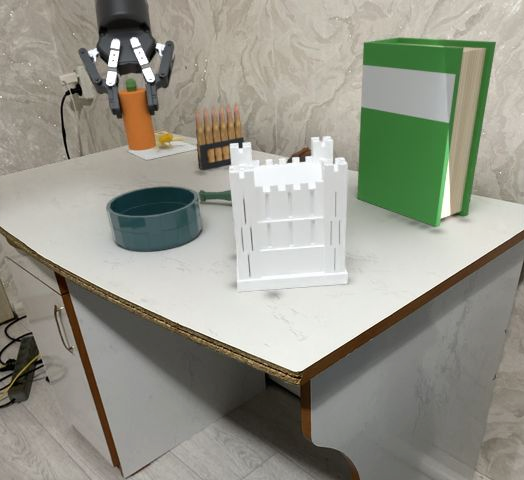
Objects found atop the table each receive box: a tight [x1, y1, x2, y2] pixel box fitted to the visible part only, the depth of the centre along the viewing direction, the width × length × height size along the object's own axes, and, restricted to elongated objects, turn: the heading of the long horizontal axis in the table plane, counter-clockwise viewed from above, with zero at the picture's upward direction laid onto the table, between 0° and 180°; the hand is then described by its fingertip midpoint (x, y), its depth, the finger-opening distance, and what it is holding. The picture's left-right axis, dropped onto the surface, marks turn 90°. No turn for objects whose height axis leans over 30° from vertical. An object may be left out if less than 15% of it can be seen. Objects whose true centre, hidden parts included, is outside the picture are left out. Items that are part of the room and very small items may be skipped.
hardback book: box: [356, 36, 497, 228], centre depth 83 cm, size 18×7×24 cm, turn 34°
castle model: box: [228, 135, 349, 293], centre depth 70 cm, size 14×14×15 cm
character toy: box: [154, 129, 185, 148], centre depth 131 cm, size 8×3×8 cm
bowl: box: [105, 185, 203, 252], centre depth 85 cm, size 14×14×6 cm
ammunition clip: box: [195, 102, 245, 171], centre depth 114 cm, size 11×2×12 cm, turn 118°
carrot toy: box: [118, 77, 156, 151], centre depth 77 cm, size 4×4×9 cm
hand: (135, 113), depth 75 cm, fingers closed on carrot toy, 4 cm apart
